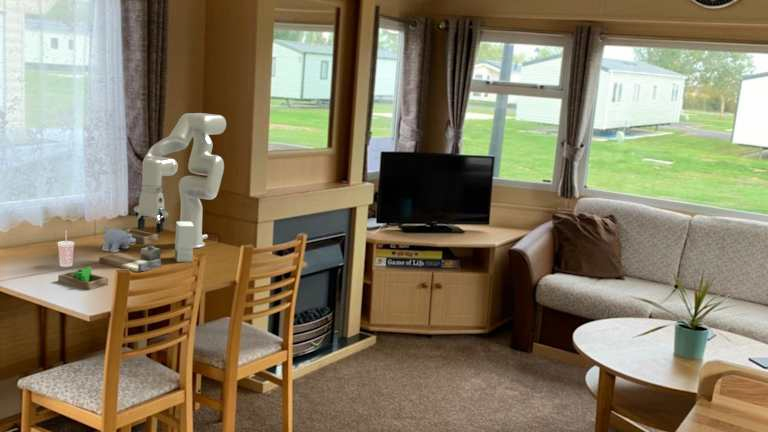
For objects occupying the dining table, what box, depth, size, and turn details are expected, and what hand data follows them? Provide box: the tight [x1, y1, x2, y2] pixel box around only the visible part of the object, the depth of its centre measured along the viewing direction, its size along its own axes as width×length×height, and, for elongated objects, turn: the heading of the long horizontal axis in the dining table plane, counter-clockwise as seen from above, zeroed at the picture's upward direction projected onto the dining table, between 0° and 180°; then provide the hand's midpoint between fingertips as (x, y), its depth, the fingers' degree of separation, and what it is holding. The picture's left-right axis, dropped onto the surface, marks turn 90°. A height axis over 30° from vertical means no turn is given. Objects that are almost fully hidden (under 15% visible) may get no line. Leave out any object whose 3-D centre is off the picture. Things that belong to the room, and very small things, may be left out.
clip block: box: [140, 245, 161, 261], centre depth 313 cm, size 6×6×6 cm
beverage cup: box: [57, 229, 75, 268], centre depth 296 cm, size 6×6×14 cm
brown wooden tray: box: [57, 269, 109, 291], centre depth 276 cm, size 8×16×2 cm, turn 64°
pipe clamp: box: [76, 266, 92, 286], centre depth 275 cm, size 11×4×5 cm, turn 10°
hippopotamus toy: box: [101, 225, 137, 253], centre depth 326 cm, size 11×15×10 cm
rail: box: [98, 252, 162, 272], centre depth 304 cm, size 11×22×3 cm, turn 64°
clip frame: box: [123, 228, 159, 245], centre depth 346 cm, size 8×16×3 cm, turn 64°
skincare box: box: [173, 220, 194, 263], centre depth 317 cm, size 8×7×16 cm
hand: (150, 230), depth 311 cm, fingers open, 9 cm apart
